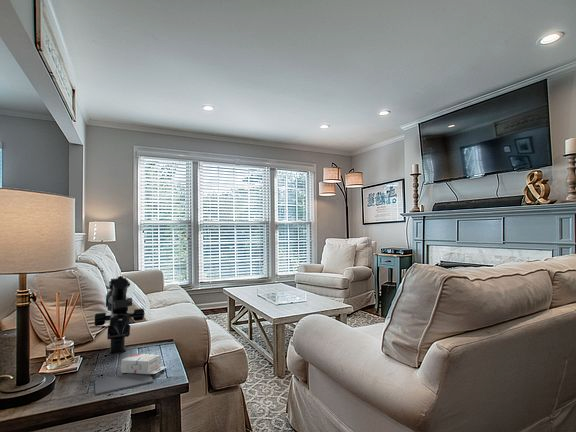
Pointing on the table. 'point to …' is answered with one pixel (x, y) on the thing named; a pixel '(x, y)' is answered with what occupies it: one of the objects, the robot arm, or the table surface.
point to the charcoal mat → (121, 382)
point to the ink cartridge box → (142, 364)
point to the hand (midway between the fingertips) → (120, 335)
